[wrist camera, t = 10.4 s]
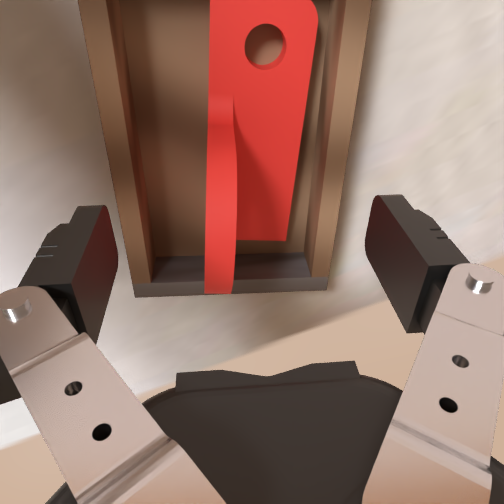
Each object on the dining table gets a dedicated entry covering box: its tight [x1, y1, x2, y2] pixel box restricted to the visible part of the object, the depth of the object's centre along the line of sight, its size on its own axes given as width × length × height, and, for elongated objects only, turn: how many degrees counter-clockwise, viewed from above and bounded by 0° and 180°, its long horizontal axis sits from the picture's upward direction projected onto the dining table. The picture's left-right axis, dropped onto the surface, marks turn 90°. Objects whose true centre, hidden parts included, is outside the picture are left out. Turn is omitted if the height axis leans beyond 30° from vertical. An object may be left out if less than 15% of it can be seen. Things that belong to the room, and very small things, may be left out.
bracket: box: [204, 0, 318, 294], centre depth 18 cm, size 12×4×8 cm, turn 176°
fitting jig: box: [78, 0, 372, 298], centre depth 20 cm, size 17×11×3 cm, turn 179°
